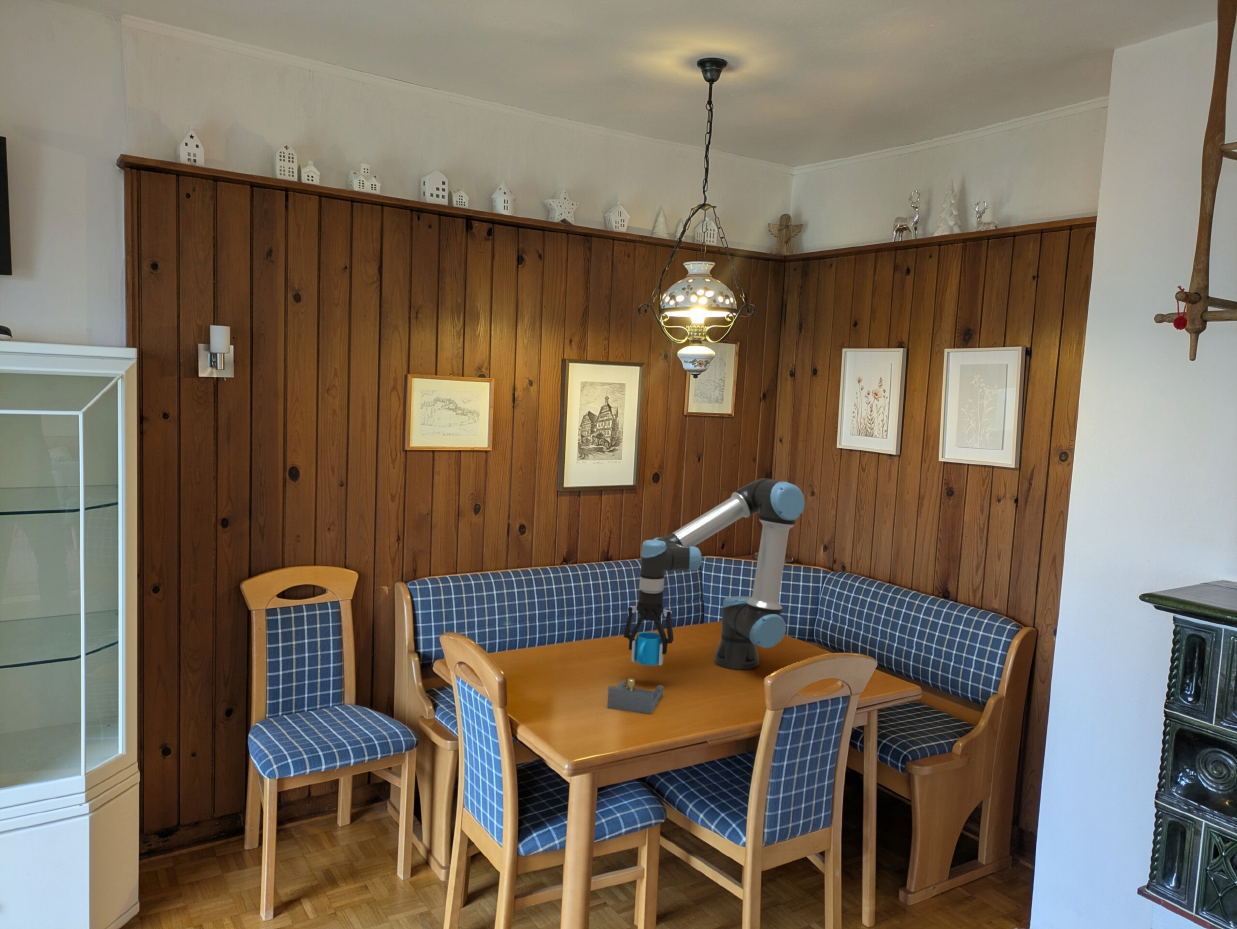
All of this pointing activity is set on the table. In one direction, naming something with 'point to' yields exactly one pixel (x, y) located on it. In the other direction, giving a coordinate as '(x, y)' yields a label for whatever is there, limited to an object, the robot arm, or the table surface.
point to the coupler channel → (633, 697)
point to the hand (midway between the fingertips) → (647, 662)
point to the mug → (648, 648)
